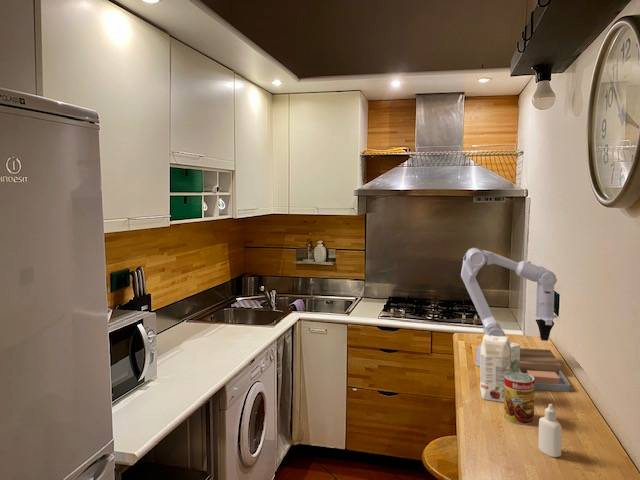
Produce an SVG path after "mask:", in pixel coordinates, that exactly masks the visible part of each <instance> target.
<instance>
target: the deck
mask: <svg viewBox="0 0 640 480" xmlns="http://www.w3.org/2000/svg"><path fill="white" fill-rule="evenodd" d="M519 368H520V370H521V373H527V370H529V371H546V372H556V374H557V375H559V371H561V372H562V364H561V362H559V360H558V358H557V357H556V356H555V354H554V353H553V352H552V350H551V349H540V348H525V347H524V348H521V347H520V367H519Z"/></svg>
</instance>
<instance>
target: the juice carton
mask: <svg viewBox="0 0 640 480" xmlns="http://www.w3.org/2000/svg"><path fill="white" fill-rule="evenodd" d="M510 342H511V341H510V337H509V336H506V335H505V336H492V335H485V334H484V335H483V338H482V340H481V364H480V371H479V372H480V375H479V377H480V379H479V380H480V382H479V386H480V387H479V388H480V390H479V391H480V394H481V398H482V400H485V401H492V402H493V401H494V402H499V403H504V375H505V374H506V373H509V372H510V366H511V345H510Z"/></svg>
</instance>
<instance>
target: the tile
mask: <svg viewBox="0 0 640 480" xmlns="http://www.w3.org/2000/svg"><path fill="white" fill-rule="evenodd" d="M527 374H529V375H531V376H533V377H534V379H535V383H549V384H559V377H558V375H557V374H556V372H546V371H529V370H527Z"/></svg>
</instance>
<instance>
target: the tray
mask: <svg viewBox="0 0 640 480" xmlns="http://www.w3.org/2000/svg"><path fill="white" fill-rule="evenodd" d="M519 372H521V370H520V368H519ZM526 374H527V373H526ZM558 377H559V384H549V383H535V387H534V391H536V390H537V391H539V390H540V391H549V392H550V391H551V392H563V393H565V392H566V393H571V392H572V385H571V384H570V382H569V380H568V378H566V376H565V374H564V373H563V372H562V370H561V371H559V375H558Z"/></svg>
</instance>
